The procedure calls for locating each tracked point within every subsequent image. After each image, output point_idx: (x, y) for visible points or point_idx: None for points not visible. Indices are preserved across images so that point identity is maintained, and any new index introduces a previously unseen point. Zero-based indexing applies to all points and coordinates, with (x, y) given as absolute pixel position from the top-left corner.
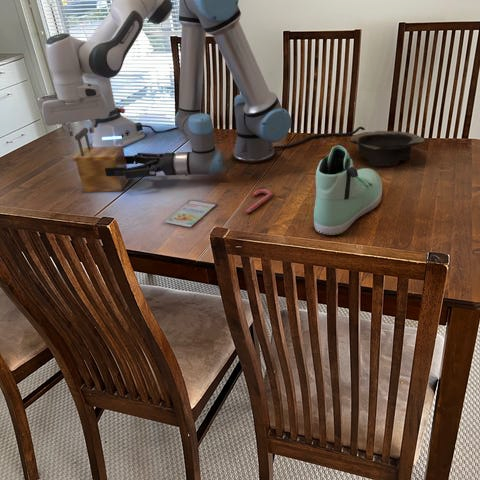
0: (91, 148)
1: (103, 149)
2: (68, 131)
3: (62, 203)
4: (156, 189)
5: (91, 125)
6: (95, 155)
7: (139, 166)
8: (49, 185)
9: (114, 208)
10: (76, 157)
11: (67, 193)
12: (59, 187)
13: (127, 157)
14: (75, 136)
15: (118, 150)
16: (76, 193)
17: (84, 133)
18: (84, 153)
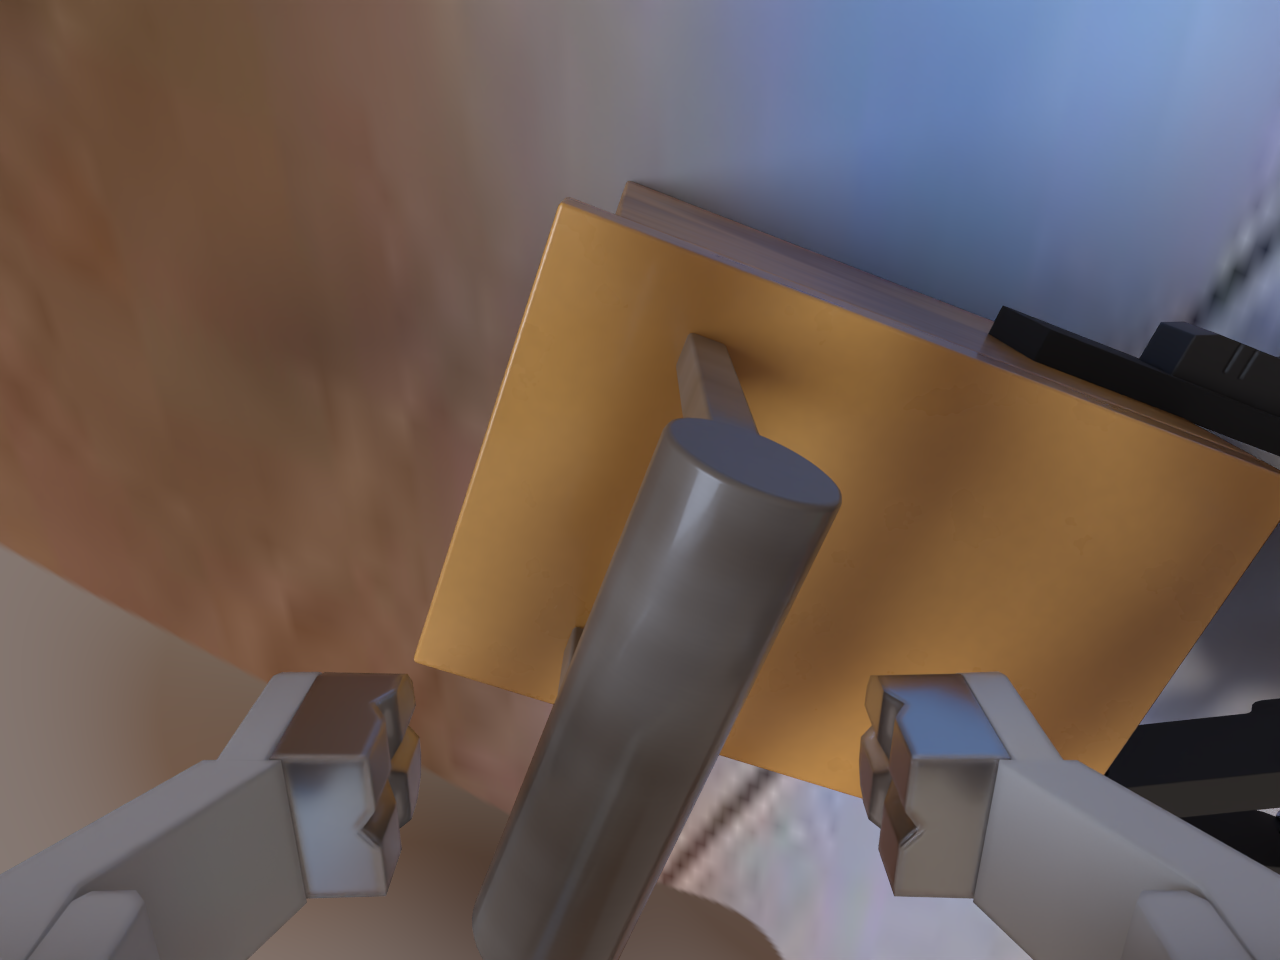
0: (741, 345)
1: (949, 504)
2: (281, 899)
3: (345, 624)
4: (1197, 672)
5: (1027, 785)
6: (786, 716)
7: (1240, 800)
8: (87, 92)
9: (786, 857)
10: (483, 673)
11: (358, 423)
12: (234, 216)
13: (1211, 428)
14: (497, 949)
15: (1171, 663)
16: (454, 461)
17: (718, 753)
18: (609, 552)
